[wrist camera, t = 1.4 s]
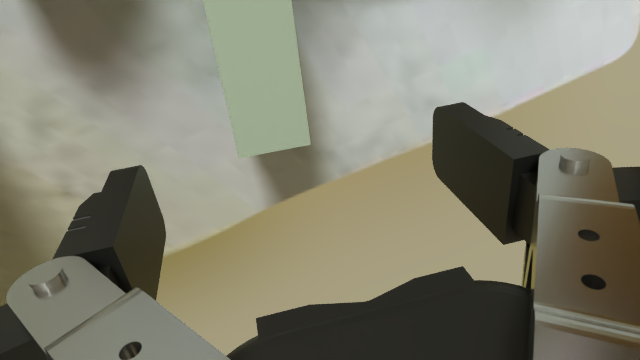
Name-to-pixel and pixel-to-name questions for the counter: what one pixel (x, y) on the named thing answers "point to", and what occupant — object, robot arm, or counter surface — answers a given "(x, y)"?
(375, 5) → the counter surface
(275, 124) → the key block
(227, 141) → the counter surface
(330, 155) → the counter surface
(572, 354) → the robot arm
